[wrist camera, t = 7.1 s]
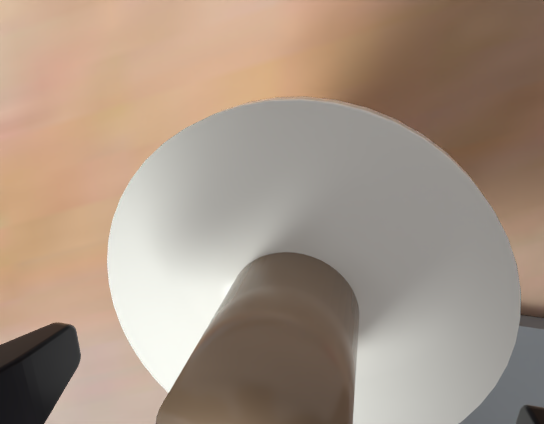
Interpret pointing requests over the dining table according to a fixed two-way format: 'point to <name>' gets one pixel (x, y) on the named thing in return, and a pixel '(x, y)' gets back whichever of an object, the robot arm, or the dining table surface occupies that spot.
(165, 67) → the dining table surface
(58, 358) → the robot arm
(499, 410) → the mat
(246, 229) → the lid
